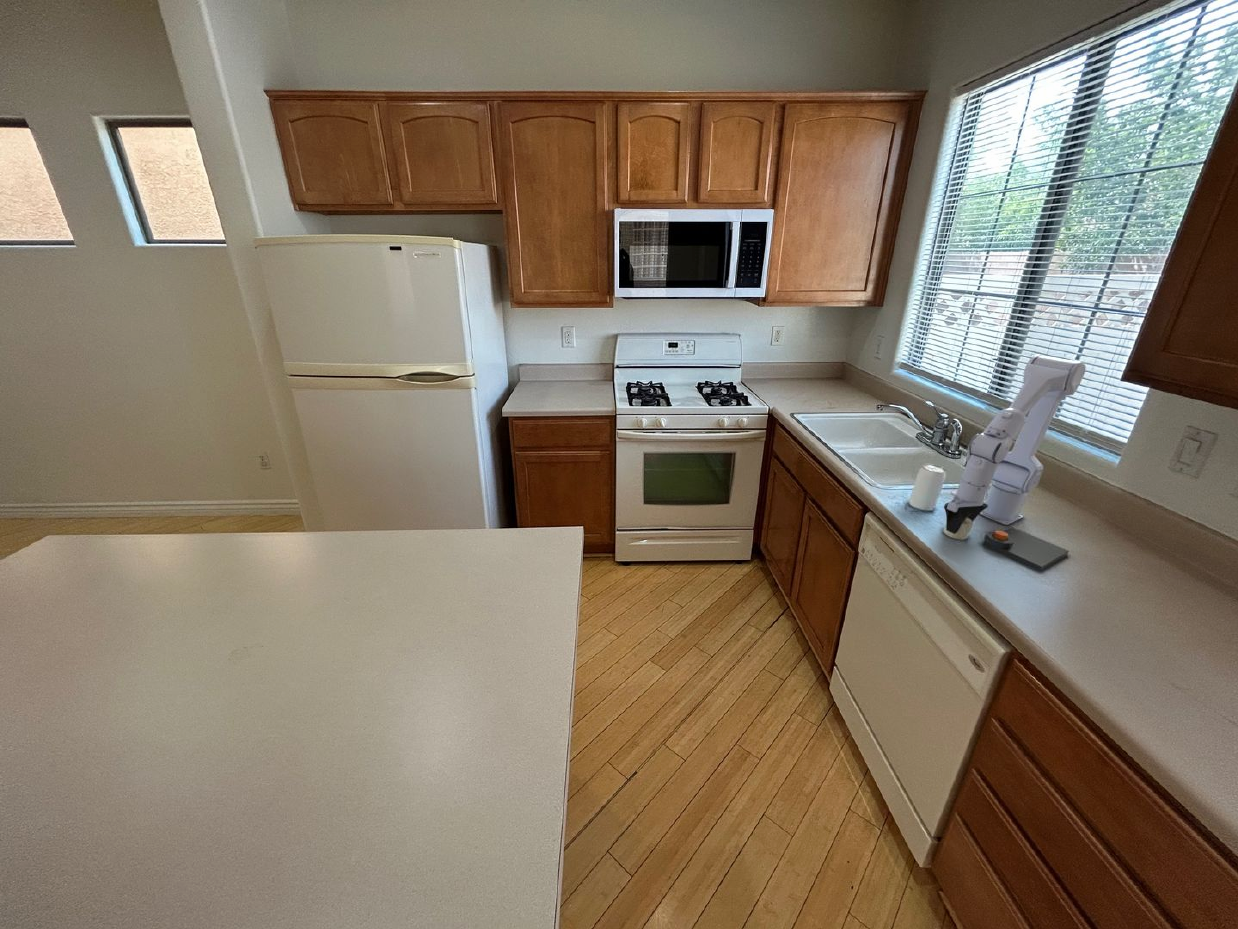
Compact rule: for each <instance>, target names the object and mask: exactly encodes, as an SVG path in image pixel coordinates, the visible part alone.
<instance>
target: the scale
mask: <svg viewBox="0 0 1238 929" xmlns="http://www.w3.org/2000/svg"><path fill="white" fill-rule="evenodd" d="M995 531H996V530H989V531H986V532H985V534H984V537H983V539H984V541H983V543H982V546H984V547H986V548H988V549H991V550H993V551H995V552H997V553H999V554H1001V555H1003V556H1006V557H1008V558H1010V559H1012V560H1014V561H1016V562H1018V563H1020V564H1023V565H1024V566H1027V567H1029V568H1032V569H1033V570H1036V571H1038V572H1041V571H1043V570H1045V569H1046V568H1049V566H1051V565H1054V564H1056V562H1059V561H1060V560H1061V559H1063V558H1065V557H1067V556H1068V554H1069V550H1068V549H1065V548H1063V547H1061V546H1059V545H1056V544H1054V543H1051V542H1049V541H1047V540H1044V539H1042V538H1039V537H1037V536H1035V535H1032V534H1031V533H1028V532H1026V531H1022V530H1020V529H1018V528H1016V527H1013V526H1012V527H1010V528H1008V529H1006V530H1003V531H1004V532H1006V533H1007V534H1008V537H1007V539H1006V541H1003V540H999V539H996V538H994V537H993V535H994V532H995Z"/></svg>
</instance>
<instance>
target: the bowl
mask: <svg viewBox="0 0 1238 929" xmlns="http://www.w3.org/2000/svg"><path fill="white" fill-rule="evenodd" d="M973 525H974V521H972V520H971V519H969V518H966V519H965V520H964V522H963V523H962V525H961V526H960V528H959V530H958V531H957V532H956V533H955V534H953V533H951V532H949V531H947V530H946V524H945V525H944V528H943V533H944V534H945V535H946V536H948V537H950V538H953V539H956V540H961V541H963V540H967V539H968V538H969V535H970V532H971V530H972V527H973Z"/></svg>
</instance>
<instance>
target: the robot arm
mask: <svg viewBox="0 0 1238 929" xmlns="http://www.w3.org/2000/svg"><path fill="white" fill-rule="evenodd" d="M1086 369H1087V368H1086V364H1085V362H1084V361H1082V360H1081V361H1077V360H1070V359H1066V358H1065V359H1064V358H1058V357H1051V356H1046V355H1041V354H1035V355H1033V356H1032V357H1031V358H1030V359H1029V360H1028V362H1027V363H1026V365H1025V367H1024V370H1023V379H1022V380H1023V385H1022V386H1021V388H1020V390H1019V391H1018V393H1017V394H1016V396H1015V398H1014V399H1013V401H1012V402H1011V404H1010V405H1009V407H1008V408H1004V409H1000V410H999V411H998V412H997V414H996V415H995V416H994V417H993V419H992V420H991V421H990V422H989V424H988V425H987V427H986V428H985V429H984V430H983V431H982V433H977V434H975V435H974V436H973V437H972V438H971V440H970V442H969V444H967V445H968V446H967V449H966V450H967V451H966V452H967V455H966V457H965V461H966V462H967V463H966V465H965V468H964V471H963V474H962V476H961V479H960V481H959V484H958V486H957V490H955V489H954V490H951V491H950V495H951V496H953V497H952V499H951V500H950V501H949V502H946V503H945V504H944V506H943V509H944V511H945V517H946V522H945V525H946V530H947V531H949V532H951V533H953V534H955V533H956V532H957V531H958V530H959V528H960V526H961V525H962V523H963V522H964V520H965V519H966V518H969V519H971V520H972V521H973V522H974V521H975V520H976V519H977V517H978V516H983V517H985V518H988V519H990V520H992V521H995V522H997V523H1000V524H1001V525H1004V526H1007V525H1010V524H1012V523H1014V522H1016V521H1019V520H1021V519H1022V518H1024V516H1023V514H1021V511H1022V510H1023V507H1024V506H1025V502H1026V499H1027V497H1028V494H1029V493H1031V492H1034V490H1035V489H1036V488H1037V487H1038V485H1039V483H1040V481H1041V478H1042V474H1043V471H1044V466H1043V464H1042V463H1041V462H1040V461H1039V459H1038V458H1037V457H1036V454H1037V452H1038V450H1039V448H1040V446H1041V444H1042V442H1043V439H1044V438H1045V435H1046V433H1047V432H1048V429H1049V426H1050V425H1051V423H1052V421H1053V419H1054V417H1055V415H1056V413H1057V410H1058V409H1059V406H1060V404H1061V403H1062V401H1063V399H1064V398H1065V397H1066V396H1073V395H1075V393H1076V392H1077V390H1078V388H1079V387H1080V384H1081V383H1082V380H1083V378H1084V376H1085V375H1086ZM1027 414H1028V415H1027ZM1026 415H1027V417H1026ZM1017 435H1018V436H1017ZM1016 436H1017V439H1016V441H1015V443H1014V445H1013V440H1014V439H1015V438H1016ZM1012 445H1013V447H1012ZM1011 447H1012V450H1010V448H1011ZM990 485H991V486H990Z"/></svg>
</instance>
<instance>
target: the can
mask: <svg viewBox="0 0 1238 929" xmlns="http://www.w3.org/2000/svg"><path fill="white" fill-rule="evenodd" d="M946 472H947V470H946V469H945V468H944V467H943V466H940V465H937V464H932V463H924V464H922V466H921V467H920V468H919V470H918V473H917V475H916V478H915V482H914V484H913V488H912V490H911V494H910V497H909V500H908V503H909V505H910V506H911V507H912V508H914V509H916V510H920V511H925V512H931V511H933V510H935V509H936V506H937V503H938V500H939V497H940V496H941V491H942V489H943V486H944V483H945V480H946V477H947V475H946V474H947V473H946Z"/></svg>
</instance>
